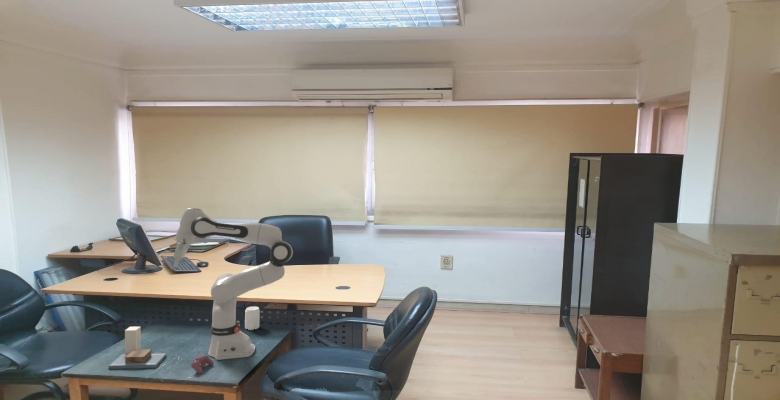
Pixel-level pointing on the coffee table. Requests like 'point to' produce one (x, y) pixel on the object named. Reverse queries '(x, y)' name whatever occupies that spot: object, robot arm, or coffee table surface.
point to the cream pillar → (132, 339)
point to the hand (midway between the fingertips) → (176, 265)
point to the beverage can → (252, 317)
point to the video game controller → (203, 360)
